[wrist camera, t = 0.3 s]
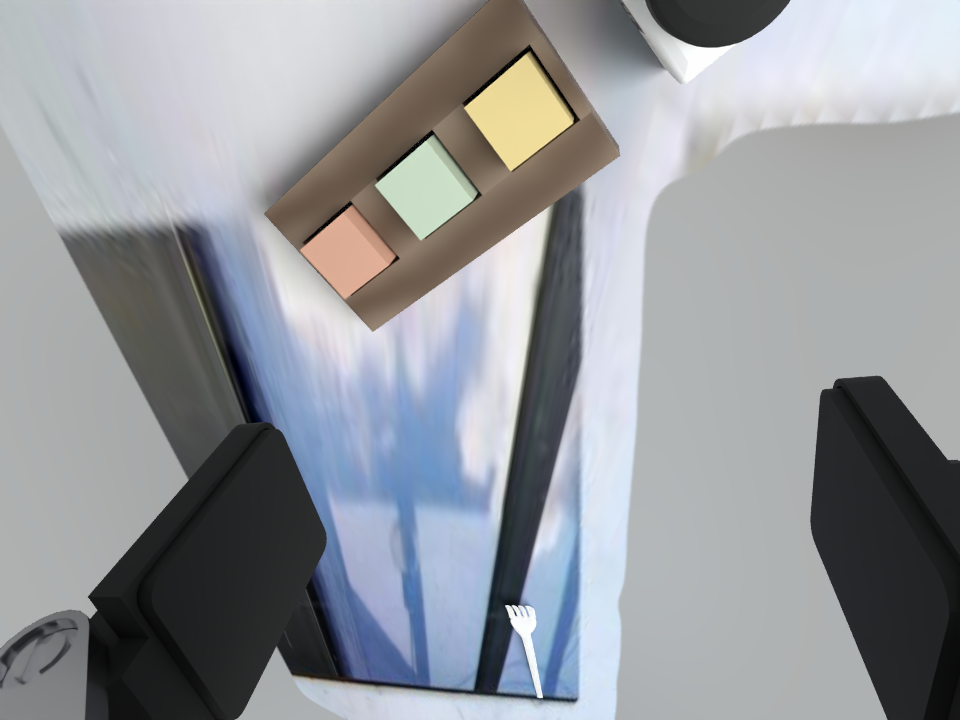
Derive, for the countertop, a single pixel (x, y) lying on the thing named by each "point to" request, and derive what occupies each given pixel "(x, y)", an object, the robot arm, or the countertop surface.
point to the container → (698, 29)
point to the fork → (526, 638)
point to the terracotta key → (349, 252)
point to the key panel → (440, 107)
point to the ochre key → (520, 111)
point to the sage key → (427, 187)
